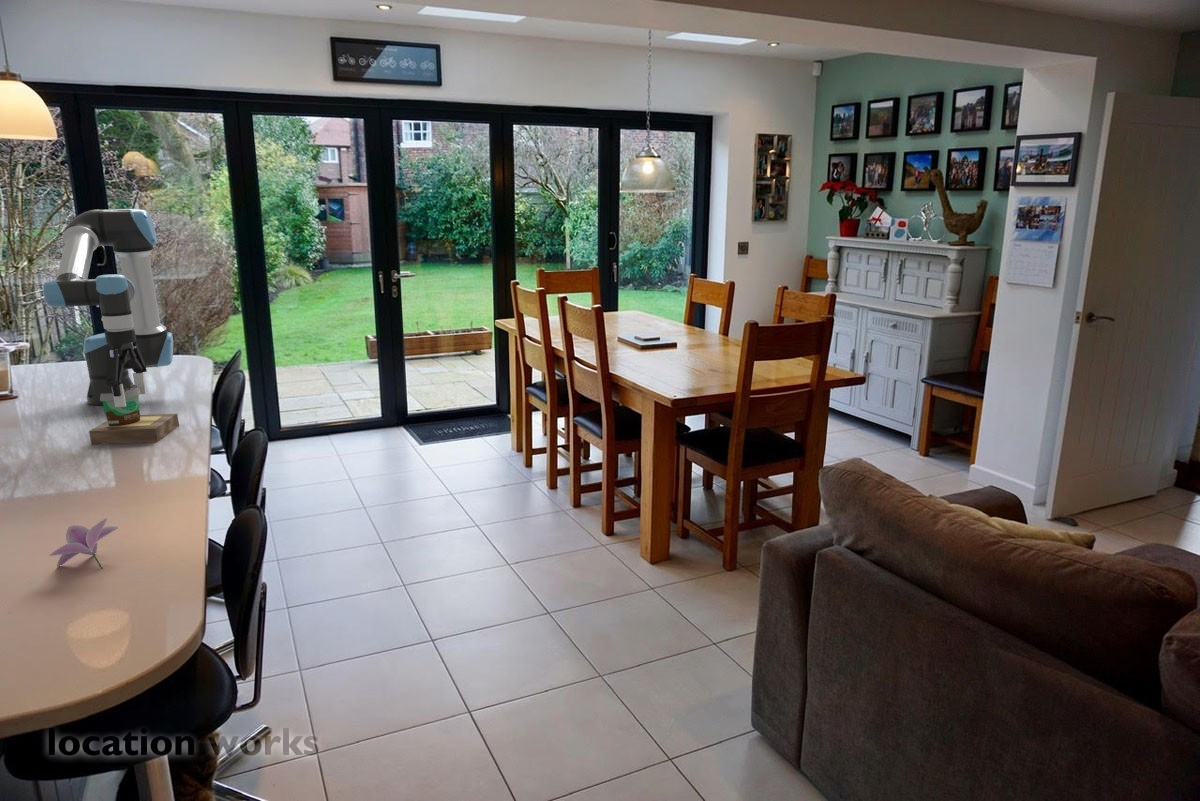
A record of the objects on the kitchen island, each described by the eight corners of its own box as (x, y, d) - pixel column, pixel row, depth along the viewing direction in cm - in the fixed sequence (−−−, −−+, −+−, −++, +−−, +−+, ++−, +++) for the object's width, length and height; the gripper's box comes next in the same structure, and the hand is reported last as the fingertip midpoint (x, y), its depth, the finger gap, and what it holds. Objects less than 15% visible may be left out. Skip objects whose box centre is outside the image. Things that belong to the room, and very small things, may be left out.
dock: (117, 428, 241) (115, 415, 240) (179, 425, 243) (177, 412, 242) (91, 444, 225) (88, 430, 224) (157, 441, 227) (155, 427, 226)
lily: (134, 552, 160) (109, 512, 159) (130, 552, 150) (104, 509, 149) (71, 586, 154) (45, 544, 154) (62, 588, 144) (34, 543, 143)
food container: (123, 428, 226) (117, 395, 223) (104, 427, 227) (98, 394, 224) (154, 416, 237) (149, 384, 235) (137, 415, 239) (132, 383, 236)
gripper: (125, 321, 237) (136, 389, 243) (83, 337, 213) (97, 412, 219) (151, 321, 238) (162, 388, 244) (112, 337, 214) (125, 411, 220)
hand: (131, 400), depth 232 cm, fingers open, 13 cm apart
